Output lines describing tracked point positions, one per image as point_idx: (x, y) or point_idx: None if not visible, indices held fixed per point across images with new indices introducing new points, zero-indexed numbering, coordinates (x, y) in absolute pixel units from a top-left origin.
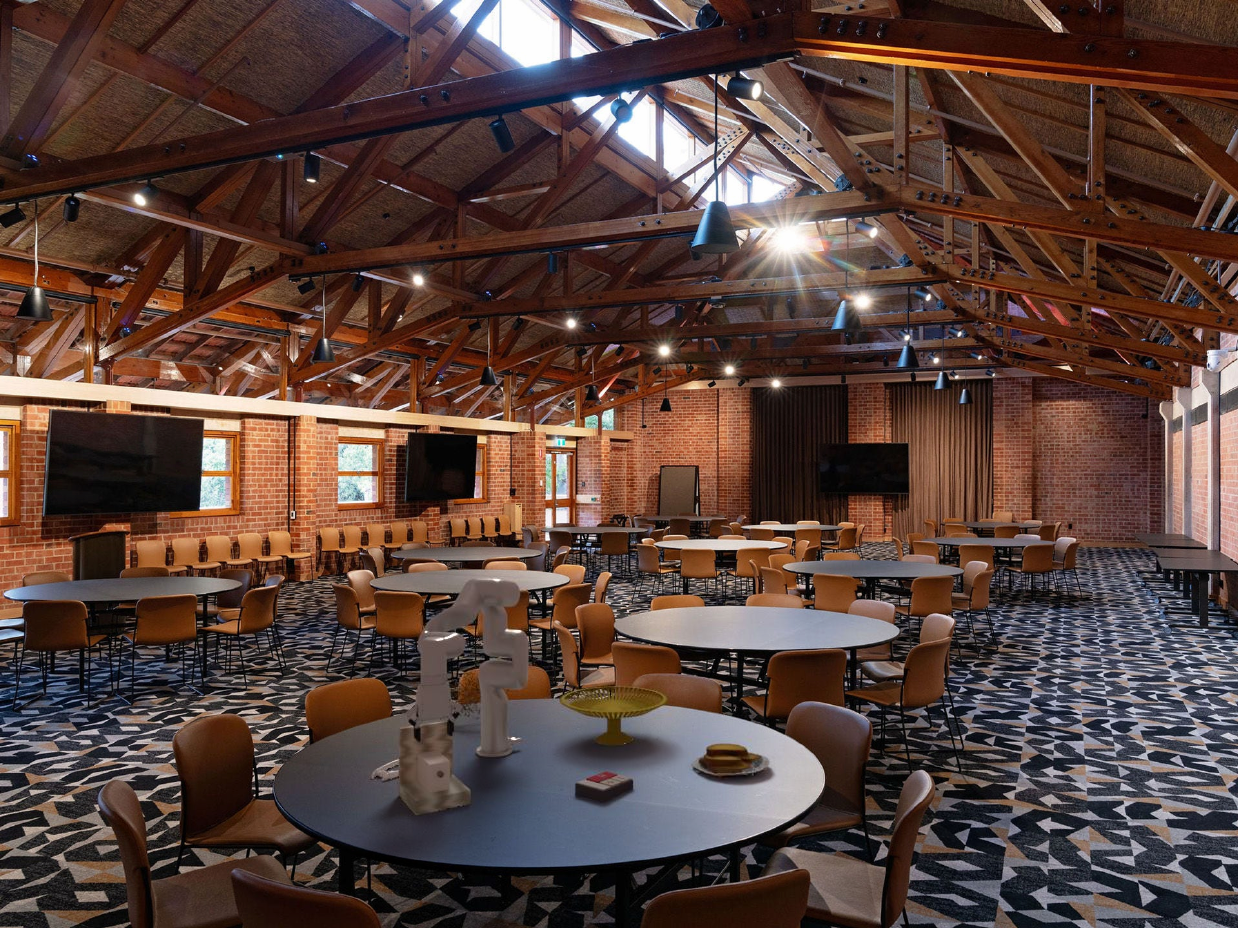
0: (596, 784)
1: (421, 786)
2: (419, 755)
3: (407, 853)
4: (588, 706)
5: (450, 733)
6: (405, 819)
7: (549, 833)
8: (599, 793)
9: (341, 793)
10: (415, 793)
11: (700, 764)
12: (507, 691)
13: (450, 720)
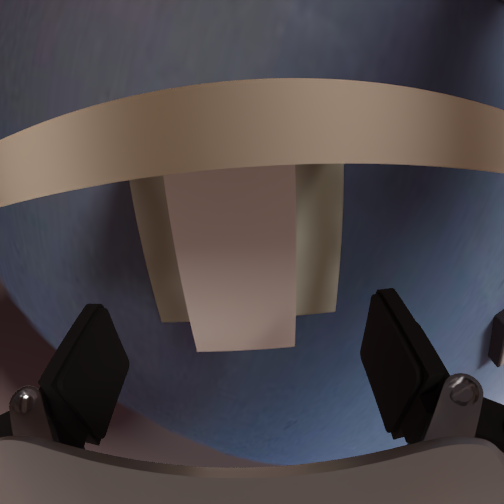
0: None
1: None
2: (165, 190)
3: (152, 417)
4: None
5: (367, 367)
6: (144, 309)
7: (367, 425)
8: (495, 360)
9: (15, 60)
10: (164, 267)
11: None
12: None
13: (410, 438)
